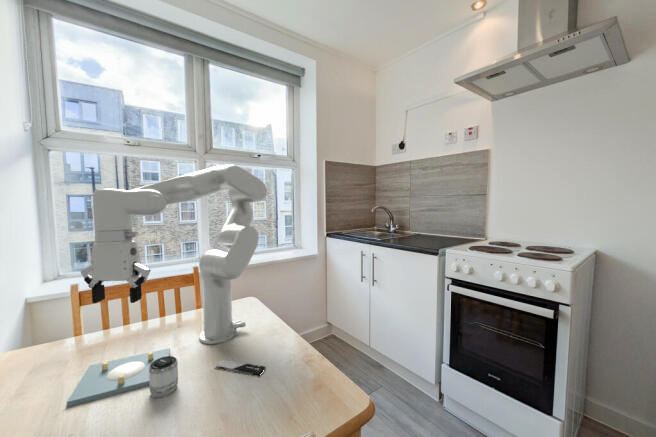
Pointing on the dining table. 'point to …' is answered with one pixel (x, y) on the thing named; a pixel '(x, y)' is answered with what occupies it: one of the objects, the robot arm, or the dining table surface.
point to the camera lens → (163, 376)
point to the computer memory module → (240, 368)
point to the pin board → (115, 377)
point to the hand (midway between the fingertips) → (117, 301)
